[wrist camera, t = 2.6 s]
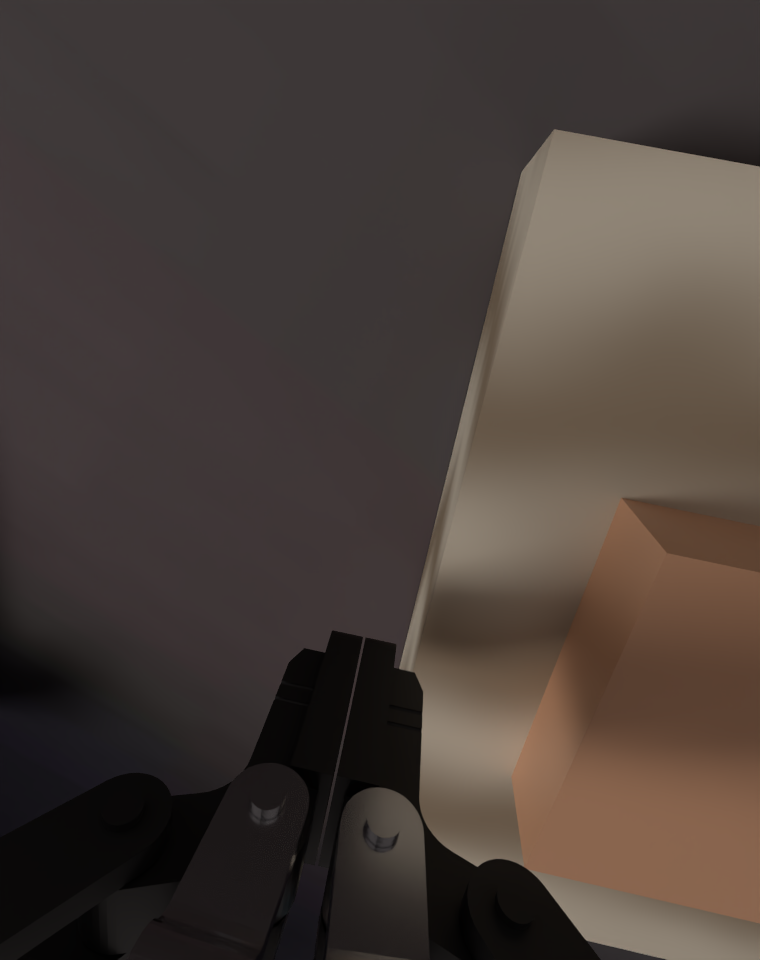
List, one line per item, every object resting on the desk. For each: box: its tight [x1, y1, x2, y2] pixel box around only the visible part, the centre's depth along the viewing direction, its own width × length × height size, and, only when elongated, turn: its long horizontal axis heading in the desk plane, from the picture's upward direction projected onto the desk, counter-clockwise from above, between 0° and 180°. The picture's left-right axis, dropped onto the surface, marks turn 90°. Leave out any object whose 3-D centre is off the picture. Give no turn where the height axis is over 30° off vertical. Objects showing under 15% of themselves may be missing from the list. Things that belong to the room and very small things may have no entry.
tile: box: [511, 498, 760, 923], centre depth 12 cm, size 9×7×2 cm
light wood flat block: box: [399, 129, 760, 960], centre depth 15 cm, size 22×14×4 cm, turn 170°
